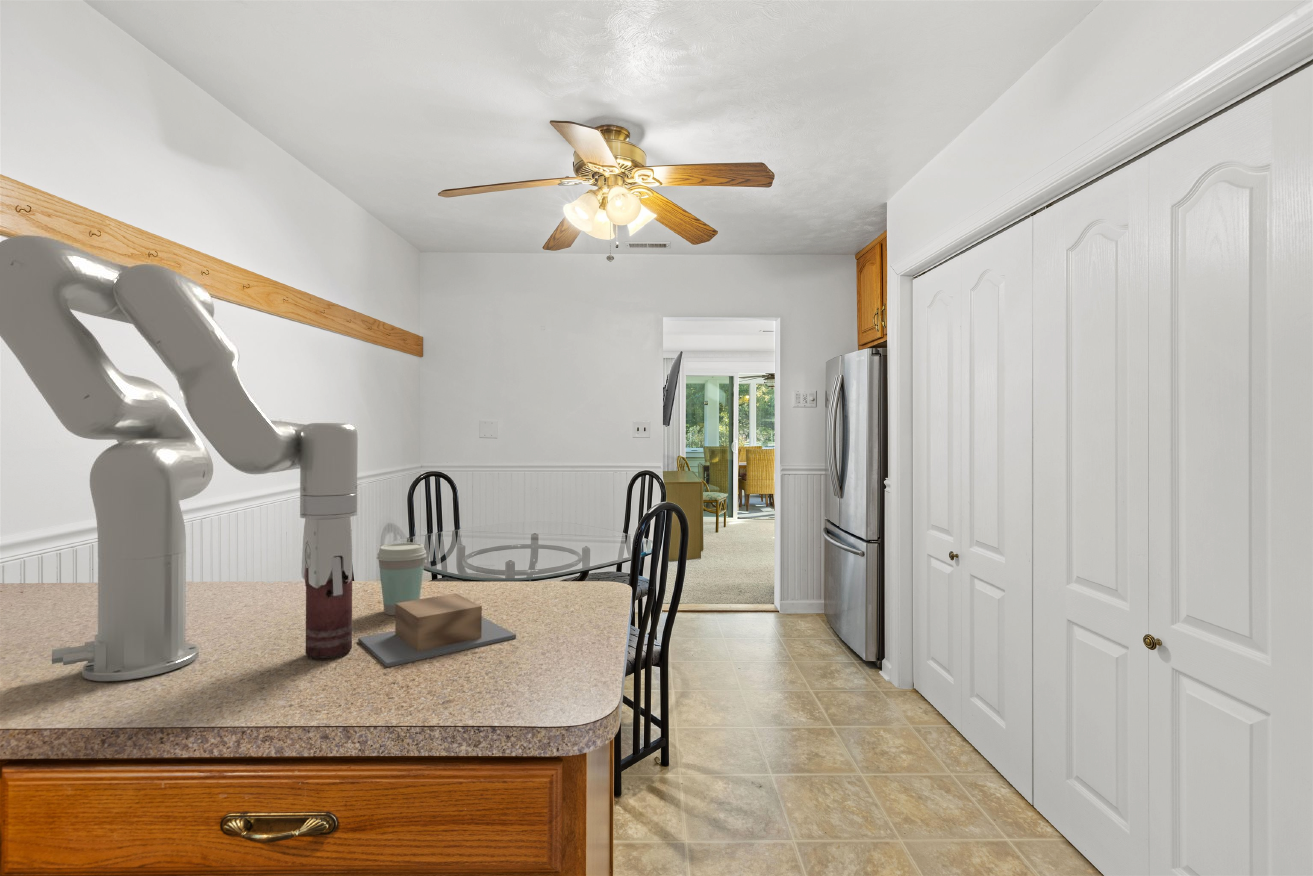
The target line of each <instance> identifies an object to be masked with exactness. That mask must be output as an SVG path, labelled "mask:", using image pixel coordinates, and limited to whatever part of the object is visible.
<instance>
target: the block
mask: <svg viewBox="0 0 1313 876" xmlns="http://www.w3.org/2000/svg"><path fill="white" fill-rule="evenodd" d="M482 606H483V605H481V604H479V603H476V602H474V601H472V600H470V599H469V598H466V597H464V596H462V595H460V594H458V593H450V594H444V595H438V596H432V597H425V598H420V599H419V600H412V601H406V602H400V603H395V615H394V616H395V617H394V618H395V619H394V621H395V624H394V625H395V626H394V631H395V635H397V636H398V637H399V638H401V639H402V640H403V641H405V642H406V643H407V644H409V645H410V646H411V647H413V648H414V649H415V650H417V651H422V650H426V649H431V648H436V647H440V646H445V645H449V644H454V643H459V642H463V641H468V640H473V639H477V638H481V636H482V617H483V616H482V614H483V613H482V612H483V611H482V609H483V608H482Z"/></svg>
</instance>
